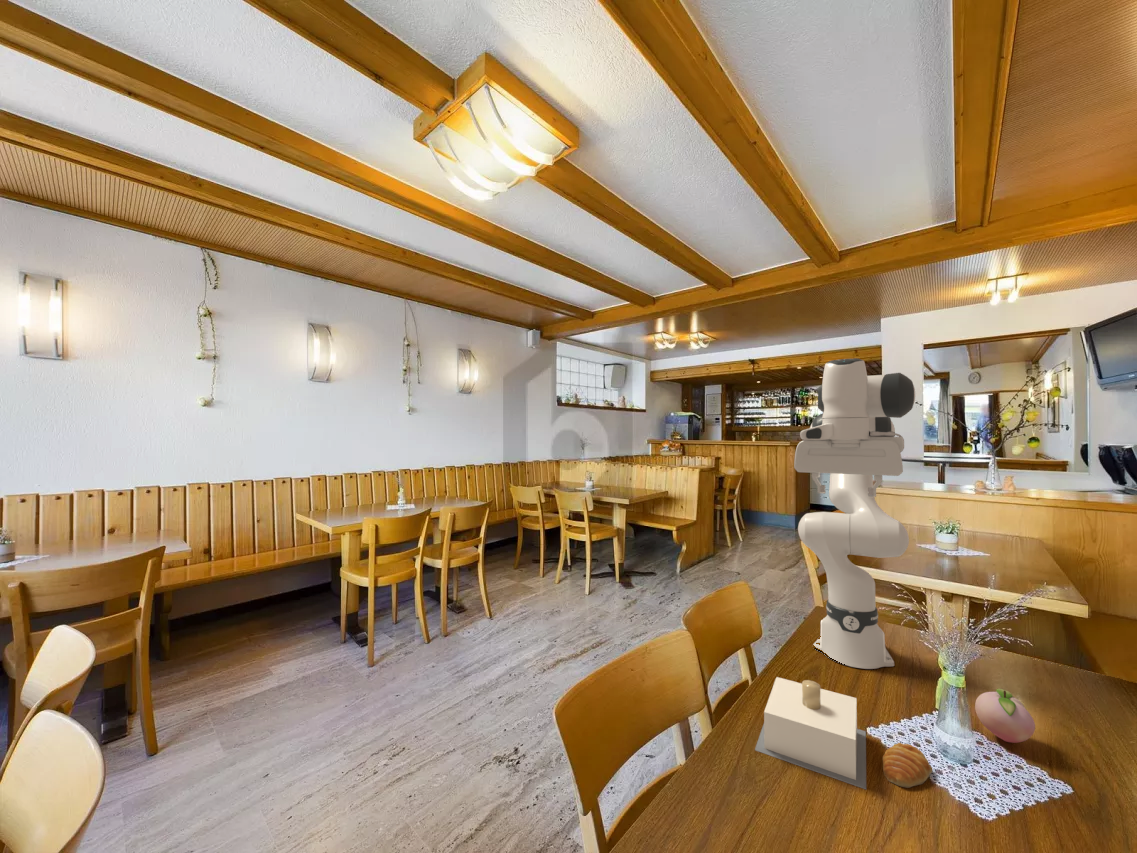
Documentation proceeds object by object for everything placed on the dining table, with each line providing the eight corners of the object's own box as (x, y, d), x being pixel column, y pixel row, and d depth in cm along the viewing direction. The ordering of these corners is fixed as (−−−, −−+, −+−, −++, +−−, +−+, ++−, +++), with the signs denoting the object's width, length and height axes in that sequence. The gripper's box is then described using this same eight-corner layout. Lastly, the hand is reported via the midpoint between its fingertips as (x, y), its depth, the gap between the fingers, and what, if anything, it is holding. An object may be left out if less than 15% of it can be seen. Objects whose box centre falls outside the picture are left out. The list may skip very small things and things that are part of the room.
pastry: (919, 800, 76) (918, 777, 76) (873, 777, 81) (872, 755, 81) (934, 774, 82) (933, 752, 82) (890, 754, 87) (889, 733, 87)
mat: (770, 704, 103) (770, 703, 103) (865, 733, 93) (865, 731, 93) (754, 752, 88) (754, 749, 88) (866, 791, 78) (866, 789, 78)
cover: (776, 708, 101) (776, 658, 101) (857, 732, 92) (856, 678, 93) (764, 748, 88) (763, 691, 88) (856, 780, 80) (855, 717, 80)
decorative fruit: (969, 721, 96) (968, 674, 97) (1021, 733, 93) (1021, 684, 93) (984, 748, 88) (983, 696, 88) (1042, 763, 84) (1041, 708, 84)
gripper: (902, 431, 97) (903, 496, 97) (796, 431, 108) (796, 490, 108) (905, 431, 92) (906, 500, 91) (792, 431, 103) (793, 493, 102)
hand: (846, 494), depth 100 cm, fingers open, 8 cm apart
